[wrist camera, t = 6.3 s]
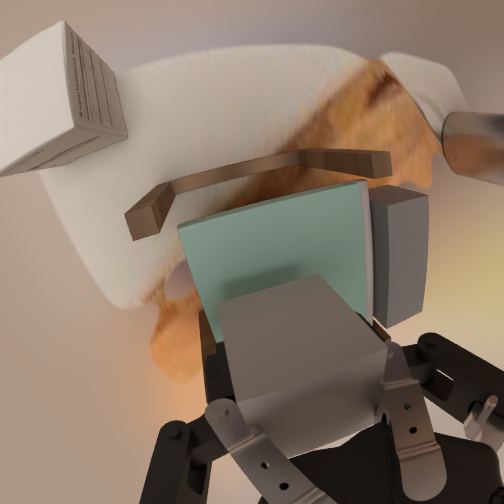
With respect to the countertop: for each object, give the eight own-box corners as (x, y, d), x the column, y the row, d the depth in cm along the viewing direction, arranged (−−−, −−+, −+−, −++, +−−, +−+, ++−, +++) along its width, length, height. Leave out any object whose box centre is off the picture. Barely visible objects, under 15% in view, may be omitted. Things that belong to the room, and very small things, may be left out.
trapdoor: (386, 167, 18) (427, 175, 14) (390, 299, 23) (419, 324, 19) (179, 216, 17) (175, 236, 13) (227, 356, 21) (235, 396, 17)
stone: (317, 273, 13) (387, 347, 8) (325, 347, 15) (374, 423, 10) (217, 302, 13) (236, 402, 7) (242, 374, 15) (266, 463, 9)
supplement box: (63, 167, 21) (-20, 185, 9) (50, 99, 18) (-30, 79, 7) (130, 140, 22) (75, 129, 10) (116, 69, 19) (63, 14, 7)
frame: (307, 148, 25) (389, 151, 14) (327, 284, 31) (389, 350, 19) (157, 185, 24) (124, 214, 12) (202, 321, 29) (212, 412, 18)
